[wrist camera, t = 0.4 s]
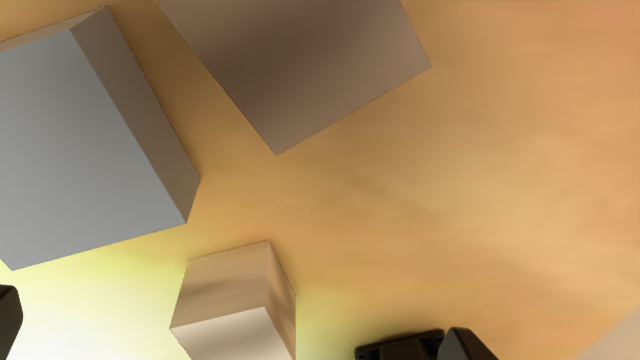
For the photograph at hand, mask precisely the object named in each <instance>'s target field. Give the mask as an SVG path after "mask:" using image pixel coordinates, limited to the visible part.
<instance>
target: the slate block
mask: <svg viewBox="0 0 640 360" xmlns="http://www.w3.org/2000/svg"><path fill="white" fill-rule="evenodd" d="M199 182H200V177H199V175H198V173H197V172H196V170H195V168H194V166H193V164H192V162H191V160H190V159H189V157H188V155H187V153H186V151H185V149H184V147H183V146H182V144H181V142H180V140H179V138H178V136H177V134H176V133H175V131H174V129H173V127H172V125H171V123H170V121H169V120H168V118H167V116H166V114H165V112H164V110H163V108H162V107H161V105H160V103H159V101H158V99H157V97H156V95H155V94H154V92H153V90H152V88H151V86H150V84H149V82H148V81H147V79H146V77H145V75H144V73H143V71H142V69H141V68H140V66H139V64H138V62H137V60H136V58H135V56H134V55H133V53H132V51H131V49H130V47H129V45H128V44H127V42H126V40H125V38H124V36H123V34H122V32H121V31H120V29H119V27H118V25H117V23H116V21H115V19H114V18H113V16H112V14H111V12H110V10H109V8H108V6H104V7H101V8H98V9H95V10H92V11H89V12H86V13H84V14H81V15H78V16H75V17H72V18H69V19H66V20H63V21H60V22H57V23H54V24H51V25H49V26H46V27H43V28H40V29H37V30H34V31H31V32H28V33H25V34H22V35H19V36H16V37H13V38H11V39H8V40H5V41H2V42H0V259H1V260H2V261H3V262H4V263H5V264H6V265H7V266H8V267H9V268H10V269H11V270H12V271H14V270H17V269H21V268H25V267H28V266H32V265H36V264H39V263H43V262H47V261H50V260H54V259H58V258H61V257H65V256H69V255H72V254H76V253H80V252H83V251H87V250H91V249H94V248H98V247H102V246H105V245H109V244H113V243H116V242H120V241H124V240H127V239H131V238H135V237H138V236H142V235H146V234H149V233H153V232H157V231H160V230H164V229H168V228H171V227H175V226H178V225H182V224H186V223H187V220H188V217H189V214H190V211H191V207H192V204H193V201H194V198H195V195H196V192H197V189H198V185H199Z"/></svg>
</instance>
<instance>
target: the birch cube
mask: <svg viewBox="0 0 640 360" xmlns="http://www.w3.org/2000/svg"><path fill="white" fill-rule="evenodd" d="M169 330H170V331H171V332H172V334H173V335H174V336H175V338H176V339H177V340H178V342H179V343H180V344H181V346H182V347H183V348H184V350H185V351H186V352H187V354H188V355H189V356H190V358H191V359H192V360H295V294H294V292H293V290H292V288H291V286H290V284H289V281H288V279H287V277H286V275H285V273H284V271H283V269H282V266H281V264H280V262H279V260H278V258H277V256H276V254H275V252H274V249H273V247H272V245H271V243H270V241H269V240H265V241H261V242H257V243H254V244H250V245H246V246H242V247H238V248H234V249H230V250H226V251H222V252H218V253H214V254H210V255H207V256H203V257H199V258H195V259H191V260H189V261H188V265H187V268H186V272H185V275H184V279H183V282H182V286H181V289H180V293H179V296H178V300H177V303H176V307H175V310H174V314H173V317H172V321H171V324H170V328H169Z"/></svg>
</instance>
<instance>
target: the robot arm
mask: <svg viewBox="0 0 640 360" xmlns="http://www.w3.org/2000/svg"><path fill="white" fill-rule="evenodd" d="M22 321H23V311H22V307H21V303H20V299H19V295H18V291H17V289H16V288H15V287H14V286H11V285H1V284H0V360H6V358H7V356H8V354H9V352H10V350H11V347H12V345H13V343H14V341H15V339H16V336H17V334H18V332H19V330H20V327H21V325H22ZM355 359H356V360H499V359H498V358H497V357H496V356H495V355H494V354H493V353H492V352H491V351H490V350H489V349H488V348H487V346H486V345H485V344H484V343H483V342H482V341H481V340H480V339H479V338H478V337H477V336H476V335H475V334H474V333H473V332H472V331H471V330H470V329H468V328H462V327H451V328H450V329H449V330H448V332H447V334H446V335H445V333H444V332H443V331H435V332H430V333H426V334H421V335H417V336H412V337H407V338H403V339H398V340H394V341H389V342H385V343H380V344H376V345H371V346H367V347H362V348H358V349H356V350H355Z"/></svg>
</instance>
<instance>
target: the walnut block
mask: <svg viewBox="0 0 640 360" xmlns="http://www.w3.org/2000/svg"><path fill="white" fill-rule="evenodd" d="M156 5H157V6H158V7H159V9H160V10H161V11H162V12H163V14H164V15H165V16H166V17H167V19H168V20H169V21H170V23H171V24H172V25H173V26H174V28H175V29H176V30H177V31H178V33H179V34H180V35H181V36H182V38H183V39H184V40H185V41H186V43H187V44H188V45H189V46H190V48H191V49H192V50H193V52H194V53H195V54H196V55H197V57H198V58H199V59H200V60H201V62H202V63H203V64H204V65H205V67H206V68H207V69H208V70H209V72H210V73H211V74H212V75H213V77H214V78H215V79H216V81H217V82H218V83H219V84H220V86H221V87H222V88H223V89H224V91H225V92H226V93H227V94H228V96H229V97H230V98H231V99H232V101H233V102H234V103H235V104H236V106H237V107H238V108H239V110H240V111H241V112H242V113H243V115H244V116H245V117H246V118H247V120H248V121H249V122H250V123H251V125H252V126H253V127H254V128H255V130H256V131H257V132H258V133H259V135H260V136H261V137H262V139H263V140H264V141H265V142H266V144H267V145H268V146H269V147H270V149H271V150H272V151H273V152H274V154H275V155H276V156H277V155H278V154H280V153H282V152H284V151H285V150H287V149H289V148H290V147H292V146H294V145H296V144H297V143H299V142H301V141H303V140H304V139H306V138H308V137H309V136H311V135H313V134H315V133H316V132H318V131H320V130H322V129H323V128H325V127H327V126H328V125H330V124H332V123H334V122H335V121H337V120H339V119H341V118H342V117H344V116H346V115H347V114H349V113H351V112H353V111H354V110H356V109H358V108H360V107H361V106H363V105H365V104H366V103H368V102H370V101H372V100H373V99H375V98H377V97H379V96H380V95H382V94H384V93H385V92H387V91H389V90H391V89H392V88H394V87H396V86H398V85H399V84H401V83H403V82H404V81H406V80H408V79H410V78H411V77H413V76H415V75H417V74H418V73H420V72H422V71H424V70H425V69H427V68H429V67H430V66H431V64H430V62H429V60H428V58H427V56H426V54H425V52H424V50H423V48H422V46H421V43H420V41H419V39H418V37H417V35H416V33H415V31H414V29H413V27H412V25H411V23H410V21H409V19H408V17H407V15H406V13H405V11H404V9H403V7H402V5H401V3H400V1H399V0H161V1H159V2H158V3H157V4H156Z"/></svg>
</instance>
